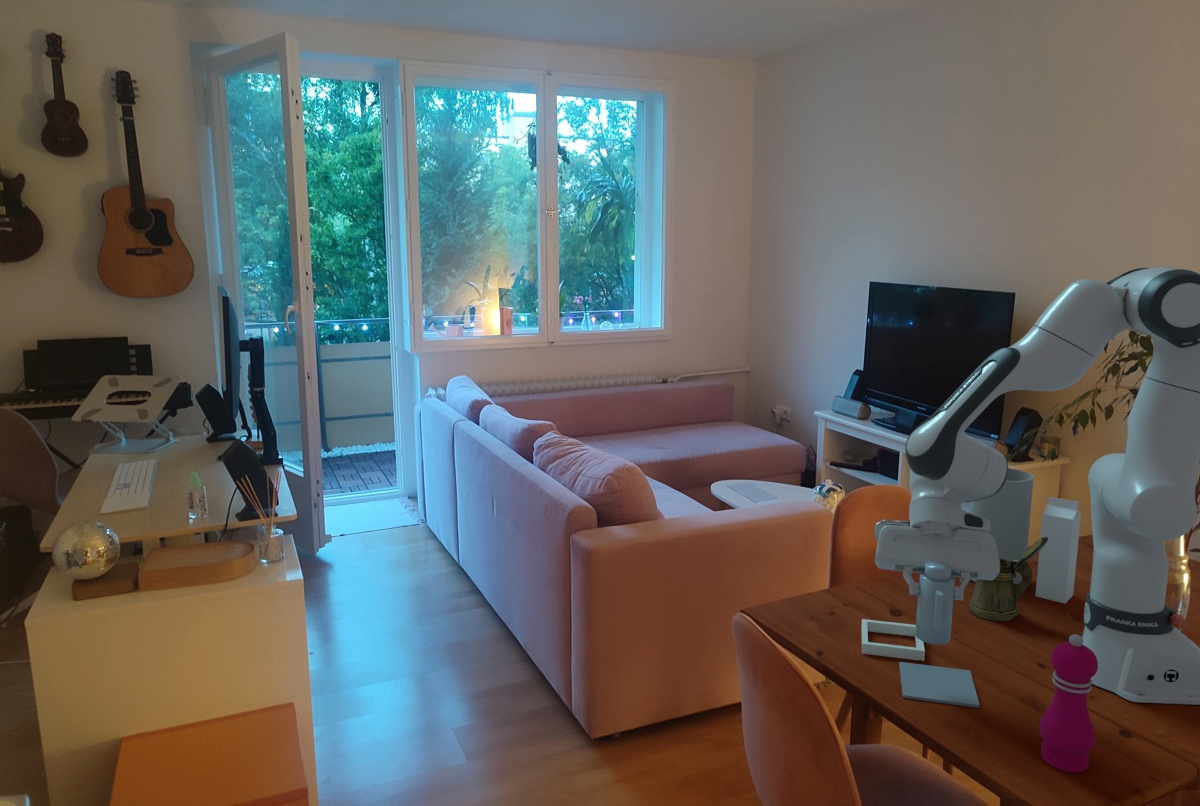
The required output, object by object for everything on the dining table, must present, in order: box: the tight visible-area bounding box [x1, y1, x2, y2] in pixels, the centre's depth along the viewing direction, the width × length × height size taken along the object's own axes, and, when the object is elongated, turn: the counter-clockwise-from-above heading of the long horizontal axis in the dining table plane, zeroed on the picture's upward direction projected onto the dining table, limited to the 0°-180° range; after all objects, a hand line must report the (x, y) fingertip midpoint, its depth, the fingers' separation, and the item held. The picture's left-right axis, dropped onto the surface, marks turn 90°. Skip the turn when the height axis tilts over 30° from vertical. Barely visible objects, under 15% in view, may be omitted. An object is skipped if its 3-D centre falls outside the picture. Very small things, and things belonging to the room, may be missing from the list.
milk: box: [1035, 496, 1082, 604], centre depth 179 cm, size 6×6×22 cm
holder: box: [861, 618, 926, 662], centre depth 160 cm, size 11×11×2 cm
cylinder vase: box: [968, 467, 1035, 584], centre depth 189 cm, size 12×12×25 cm
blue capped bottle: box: [915, 561, 956, 646], centre depth 141 cm, size 6×8×13 cm
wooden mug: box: [968, 537, 1048, 622], centre depth 171 cm, size 9×14×18 cm, turn 60°
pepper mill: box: [1038, 634, 1098, 773], centre depth 122 cm, size 7×7×20 cm
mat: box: [898, 661, 981, 709], centre depth 145 cm, size 12×12×1 cm
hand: (936, 596), depth 142 cm, fingers closed on blue capped bottle, 6 cm apart
